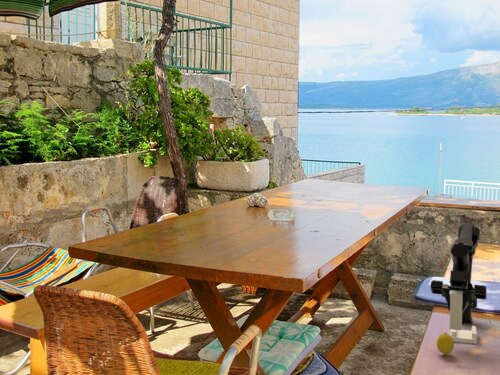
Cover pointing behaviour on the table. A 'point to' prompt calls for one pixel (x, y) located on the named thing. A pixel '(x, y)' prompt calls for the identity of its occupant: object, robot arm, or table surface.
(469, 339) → the rack
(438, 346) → the lemon
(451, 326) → the clay bar
